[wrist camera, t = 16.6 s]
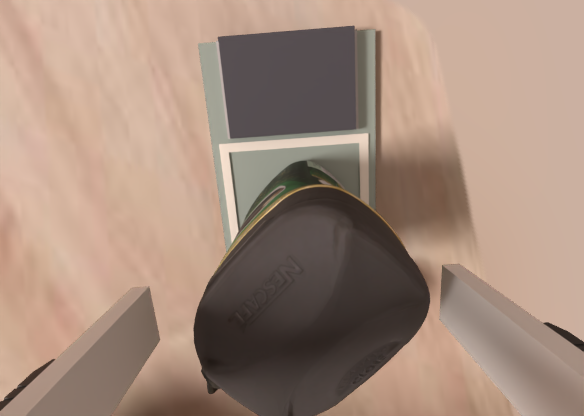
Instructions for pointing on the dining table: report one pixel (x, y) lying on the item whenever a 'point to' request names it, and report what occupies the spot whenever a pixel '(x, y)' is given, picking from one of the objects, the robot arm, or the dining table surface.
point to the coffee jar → (307, 298)
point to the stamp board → (290, 144)
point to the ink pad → (289, 82)
